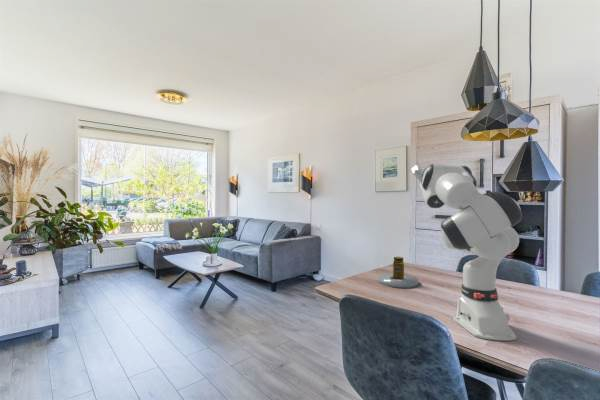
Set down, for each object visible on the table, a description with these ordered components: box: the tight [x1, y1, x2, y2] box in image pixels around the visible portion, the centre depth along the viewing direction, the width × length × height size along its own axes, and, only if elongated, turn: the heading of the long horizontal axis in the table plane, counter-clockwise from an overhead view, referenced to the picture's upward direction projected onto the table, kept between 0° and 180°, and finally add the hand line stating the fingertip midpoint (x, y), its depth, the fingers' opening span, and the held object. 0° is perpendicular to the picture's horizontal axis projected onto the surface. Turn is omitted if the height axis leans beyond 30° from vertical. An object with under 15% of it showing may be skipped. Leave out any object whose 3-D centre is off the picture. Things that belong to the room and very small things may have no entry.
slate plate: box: [377, 272, 419, 289], centre depth 170 cm, size 22×22×2 cm
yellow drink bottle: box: [390, 256, 407, 281], centre depth 170 cm, size 7×8×12 cm
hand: (426, 176), depth 148 cm, fingers open, 8 cm apart
